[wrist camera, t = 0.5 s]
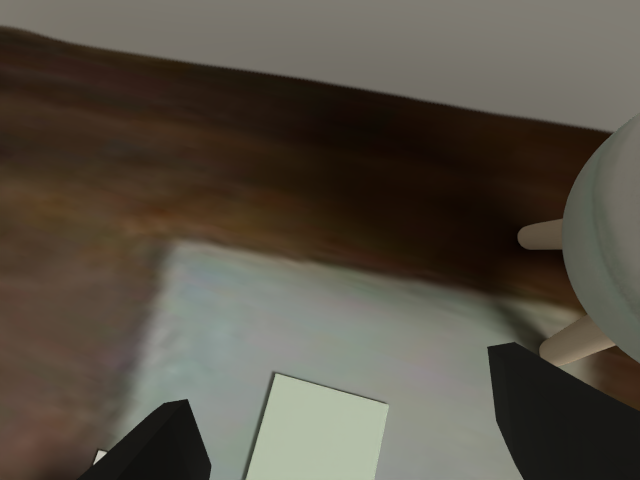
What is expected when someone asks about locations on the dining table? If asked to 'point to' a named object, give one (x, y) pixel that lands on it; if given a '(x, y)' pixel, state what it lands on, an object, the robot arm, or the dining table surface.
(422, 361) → the dining table surface
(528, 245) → the planter
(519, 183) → the dining table surface
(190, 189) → the dining table surface
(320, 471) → the sage mat
